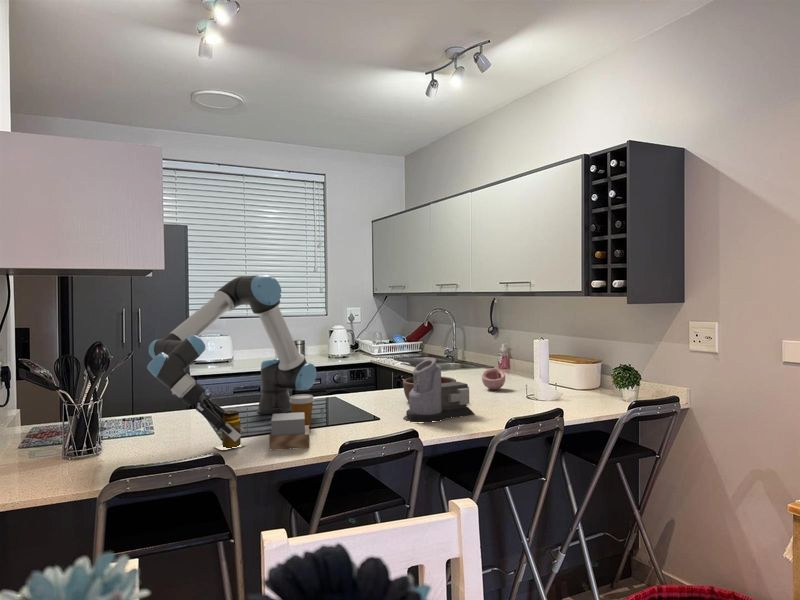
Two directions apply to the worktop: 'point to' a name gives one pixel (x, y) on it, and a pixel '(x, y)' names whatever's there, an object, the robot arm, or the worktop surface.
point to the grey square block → (288, 424)
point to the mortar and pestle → (493, 378)
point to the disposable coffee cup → (302, 406)
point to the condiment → (234, 422)
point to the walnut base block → (290, 440)
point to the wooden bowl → (409, 385)
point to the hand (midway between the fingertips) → (239, 435)
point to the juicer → (435, 395)
